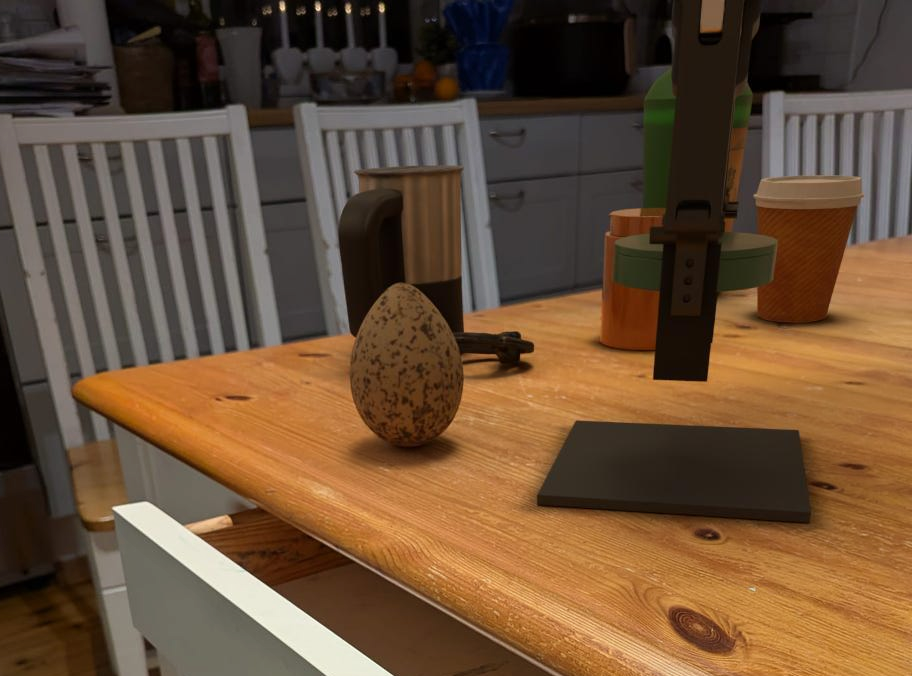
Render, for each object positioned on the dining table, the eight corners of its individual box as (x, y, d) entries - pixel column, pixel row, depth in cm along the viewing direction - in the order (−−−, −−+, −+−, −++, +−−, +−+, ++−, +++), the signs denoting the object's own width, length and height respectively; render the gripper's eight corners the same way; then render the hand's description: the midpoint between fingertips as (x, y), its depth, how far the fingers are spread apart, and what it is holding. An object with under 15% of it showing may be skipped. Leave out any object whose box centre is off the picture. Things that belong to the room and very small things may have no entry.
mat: (797, 439, 60) (799, 429, 60) (809, 523, 48) (811, 512, 48) (575, 428, 64) (575, 420, 63) (536, 505, 52) (536, 494, 52)
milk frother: (380, 338, 91) (369, 164, 84) (546, 339, 88) (549, 158, 80) (337, 376, 79) (319, 177, 71) (528, 379, 76) (530, 170, 68)
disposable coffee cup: (864, 322, 89) (889, 179, 83) (767, 329, 88) (786, 185, 82) (812, 304, 97) (831, 173, 91) (723, 310, 96) (737, 178, 90)
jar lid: (580, 283, 51) (581, 244, 50) (664, 263, 56) (667, 228, 55) (722, 298, 46) (726, 256, 45) (801, 274, 51) (806, 236, 50)
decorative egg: (456, 463, 58) (451, 292, 54) (343, 461, 60) (328, 294, 55) (472, 428, 65) (469, 272, 60) (369, 427, 66) (358, 274, 61)
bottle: (728, 303, 99) (763, -24, 86) (625, 301, 102) (642, -14, 89) (734, 285, 108) (767, -14, 94) (639, 284, 111) (657, -5, 97)
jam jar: (688, 332, 88) (699, 206, 83) (684, 351, 82) (696, 216, 76) (605, 331, 90) (611, 207, 85) (594, 349, 84) (600, 217, 78)
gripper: (663, -116, 52) (634, 319, 63) (620, -223, 34) (590, 408, 45) (811, -130, 50) (754, 322, 61) (846, -252, 32) (757, 415, 43)
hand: (684, 358), depth 53 cm, fingers closed on jar lid, 8 cm apart
